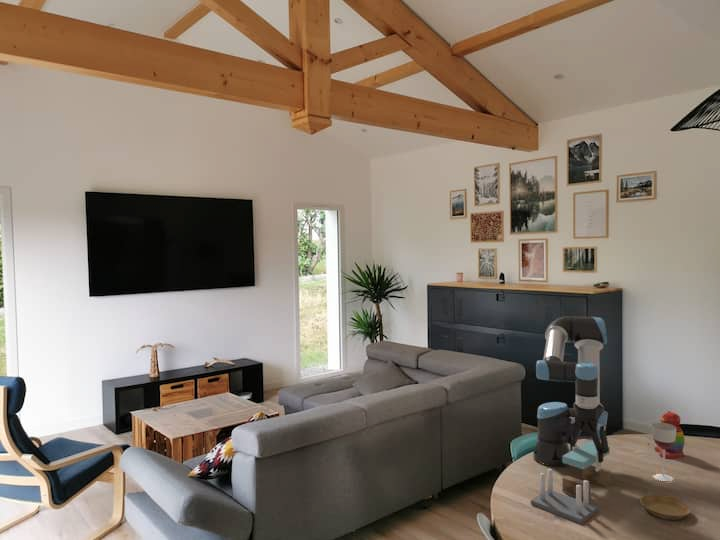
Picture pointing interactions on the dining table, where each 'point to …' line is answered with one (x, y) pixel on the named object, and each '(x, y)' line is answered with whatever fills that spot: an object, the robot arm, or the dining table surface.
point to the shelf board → (582, 456)
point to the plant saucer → (665, 506)
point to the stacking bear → (679, 441)
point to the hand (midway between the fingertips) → (586, 466)
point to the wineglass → (664, 443)
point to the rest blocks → (590, 475)
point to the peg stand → (564, 501)
